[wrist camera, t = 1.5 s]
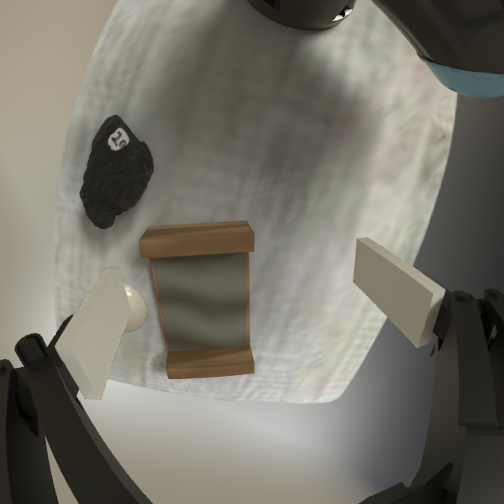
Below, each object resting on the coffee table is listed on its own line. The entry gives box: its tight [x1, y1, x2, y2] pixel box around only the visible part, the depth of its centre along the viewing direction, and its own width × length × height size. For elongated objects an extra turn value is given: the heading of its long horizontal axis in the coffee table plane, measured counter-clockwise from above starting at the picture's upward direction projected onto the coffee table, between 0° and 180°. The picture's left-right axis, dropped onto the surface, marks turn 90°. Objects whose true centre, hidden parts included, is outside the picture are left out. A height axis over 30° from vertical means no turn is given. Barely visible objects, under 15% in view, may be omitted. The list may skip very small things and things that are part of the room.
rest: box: [139, 221, 254, 379], centre depth 34 cm, size 20×12×5 cm, turn 0°
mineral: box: [80, 115, 154, 229], centre depth 26 cm, size 10×9×6 cm
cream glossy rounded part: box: [123, 283, 147, 332], centre depth 35 cm, size 8×8×1 cm
